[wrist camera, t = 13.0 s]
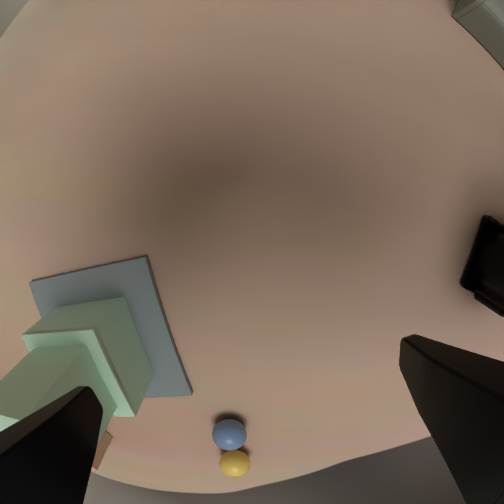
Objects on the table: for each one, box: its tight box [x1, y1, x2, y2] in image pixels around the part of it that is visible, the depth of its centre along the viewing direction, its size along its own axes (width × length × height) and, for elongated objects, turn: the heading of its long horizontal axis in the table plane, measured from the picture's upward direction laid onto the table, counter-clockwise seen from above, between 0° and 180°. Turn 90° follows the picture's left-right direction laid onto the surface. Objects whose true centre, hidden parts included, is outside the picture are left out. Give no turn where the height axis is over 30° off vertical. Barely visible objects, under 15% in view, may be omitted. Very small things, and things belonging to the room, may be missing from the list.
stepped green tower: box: [0, 297, 154, 446], centre depth 15 cm, size 7×7×12 cm
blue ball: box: [212, 419, 247, 451], centre depth 22 cm, size 3×3×3 cm
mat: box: [29, 256, 193, 397], centre depth 21 cm, size 12×12×1 cm
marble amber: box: [219, 450, 250, 477], centre depth 24 cm, size 3×3×3 cm
